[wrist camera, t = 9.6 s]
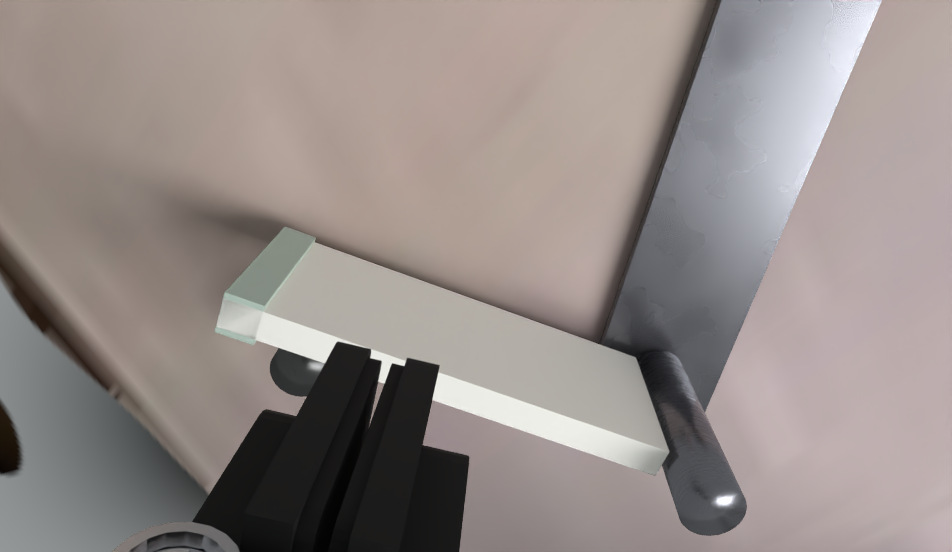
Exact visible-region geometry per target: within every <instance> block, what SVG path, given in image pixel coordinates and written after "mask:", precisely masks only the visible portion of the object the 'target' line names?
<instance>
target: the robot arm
mask: <svg viewBox="0 0 952 552" xmlns="http://www.w3.org/2000/svg"><path fill="white" fill-rule="evenodd" d="M370 357H371V349H369V348H364V347H360V346H356V345H352V344H347V343H343V342H339V341H338V342H336V344H335V346H334V348H333V349H332V351H331V353H330V355H329V357H328V359H327V361H326V362H325V364H324V366H323V368H322V370H321V372H320V374H319V375H318V377H317V379H316V381H315V383H314V385H313V387H312V388H311V390H310V392H309V394H308V396H307V398H306V400H305V401H304V403H303V405H302V407H301V409H300V411H299V413H298V414H297V416H293V415H289V414H284V413H280V412H276V411H271V410H267V409H266V410H264V411H262V413H261V414H260V415H259V417H258V418H257V420H256V421H255V423H254V424H253V426H252V428H251V429H250V431H249V432H248V434H247V436H246V437H245V439H244V440H243V442H242V444H241V445H240V447H239V448H238V450H237V451H236V453H235V455H234V456H233V458H232V459H231V461H230V463H229V464H228V466H227V467H226V469H225V471H224V472H223V474H222V475H221V477H220V478H219V480H218V482H217V483H216V485H215V486H214V488H213V490H212V491H211V493H210V494H209V496H208V498H207V499H206V501H205V502H204V504H203V505H202V507H201V509H200V510H199V512H198V513H197V515H196V517H195V518H194V520H193V521H192V522H171V523H166V524H162V525H157V526H153V527H149V528H147V529H145V530H143V531H141V532H139V533H136V534H134V535H132V536H130V537H129V538H128V539H127V540H126V541H124V542H123V543H122V544H120V545H119V546H118V547H116V548H115V549H114V550H113V551H112V552H459V548H460V539H461V530H462V521H463V512H464V503H465V494H466V485H467V476H468V467H469V456H467V455H463V454H458V453H454V452H450V451H445V450H441V449H437V448H432V447H428V446H424V445H422V444H423V440H424V435H425V431H426V426H427V422H428V417H429V413H430V408H431V403H432V399H433V394H434V390H435V385H436V381H437V376H438V372H439V367H440V365H437V364H433V363H429V362H424V361H420V360H416V359H412V358H407V360H406V363H405V366H402V365H398V364H393V363H392V364H391V367H390V370H389V373H388V376H387V378H386V381H385V384H384V387H383V390H382V393H381V395H380V398H379V401H378V404H377V407H376V409H375V412H374V415H373V418H372V421H371V424H370V419H371V414H372V409H373V404H374V399H375V394H376V389H377V385H378V380H379V375H380V370H381V364H382V361H381V360H376V359H372V358H370ZM369 424H370V426H369ZM368 428H369V429H368Z"/></svg>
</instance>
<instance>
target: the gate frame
mask: <svg viewBox="0 0 952 552" xmlns="http://www.w3.org/2000/svg"><path fill="white" fill-rule="evenodd" d="M881 1H882V0H717V2H716V5H715V8H714V11H713V14H712V17H711V20H710V23H709V26H708V29H707V32H706V35H705V38H704V40H703V43H702V46H701V49H700V52H699V55H698V58H697V61H696V64H695V67H694V70H693V73H692V75H691V78H690V81H689V84H688V87H687V90H686V93H685V96H684V99H683V102H682V105H681V108H680V111H679V113H678V116H677V119H676V122H675V125H674V128H673V131H672V134H671V137H670V140H669V143H668V146H667V148H666V151H665V154H664V157H663V160H662V163H661V166H660V169H659V172H658V175H657V178H656V181H655V183H654V186H653V189H652V192H651V195H650V198H649V201H648V204H647V207H646V210H645V213H644V216H643V219H642V221H641V224H640V227H639V230H638V233H637V236H636V239H635V242H634V245H633V248H632V251H631V254H630V256H629V259H628V262H627V265H626V268H625V271H624V274H623V277H622V280H621V283H620V286H619V289H618V292H617V294H616V297H615V300H614V303H613V306H612V309H611V312H610V315H609V318H608V321H607V324H606V327H605V329H604V332H603V335H602V338H601V341H600V345H603V346H605V347H608V348H611V349H614V350H617V351H619V352H622V353H625V354H628V355H631V356H633V357H636V359H637V362H638V365H639V367H640V370H641V373H642V376H643V379H644V382H645V384H646V387H647V390H648V393H649V396H650V398H651V401H652V404H653V407H654V410H655V413H656V415H657V418H658V421H659V424H660V427H661V430H662V432H663V435H664V438H665V441H666V444H667V446H668V449H669V454H668V455H667V457H666V459H665V460H664V462H663V464H662V467H663V470H664V473H665V476H666V479H667V482H668V485H669V488H670V491H671V494H672V497H673V500H674V503H675V506H676V509H677V512H678V515H679V518H680V521H681V523H682V524H683V525H684V526H685V527H686V528H687V529H688V530H690V531H692V532H694V533H696V534H700V535H707V536H711V535H719V534H723V533H725V532H728V531H730V530H731V529H733V528H735V527H736V526H737V525H738V524H739V523H740V522H741V521H742V519H743V518H744V516H745V513H746V508H747V505H746V500H745V498H744V496H743V493H742V491H741V489H740V487H739V485H738V483H737V481H736V478H735V476H734V474H733V472H732V470H731V468H730V466H729V464H728V461H727V459H726V457H725V455H724V453H723V451H722V449H721V447H720V444H719V442H718V440H717V438H716V436H715V434H714V432H713V430H712V427H711V425H710V423H709V421H708V419H707V417H706V415H705V411H706V408H707V406H708V404H709V401H710V399H711V397H712V394H713V392H714V390H715V387H716V385H717V383H718V380H719V378H720V376H721V373H722V371H723V369H724V366H725V364H726V362H727V359H728V357H729V355H730V352H731V350H732V348H733V345H734V343H735V341H736V339H737V336H738V334H739V332H740V329H741V327H742V325H743V322H744V320H745V318H746V315H747V313H748V311H749V308H750V306H751V304H752V301H753V299H754V297H755V294H756V292H757V290H758V287H759V285H760V283H761V280H762V278H763V276H764V273H765V271H766V269H767V266H768V264H769V262H770V259H771V257H772V255H773V252H774V250H775V248H776V245H777V243H778V241H779V238H780V236H781V234H782V232H783V229H784V227H785V225H786V222H787V220H788V218H789V215H790V213H791V211H792V208H793V206H794V204H795V201H796V199H797V197H798V194H799V192H800V190H801V187H802V185H803V183H804V180H805V178H806V176H807V173H808V171H809V169H810V166H811V164H812V162H813V159H814V157H815V155H816V152H817V150H818V148H819V145H820V143H821V141H822V138H823V136H824V134H825V131H826V129H827V127H828V125H829V122H830V120H831V118H832V115H833V113H834V111H835V108H836V106H837V104H838V101H839V99H840V97H841V94H842V92H843V90H844V87H845V85H846V83H847V80H848V78H849V76H850V73H851V71H852V69H853V66H854V64H855V62H856V59H857V57H858V55H859V52H860V50H861V48H862V45H863V43H864V41H865V38H866V36H867V34H868V31H869V29H870V27H871V24H872V22H873V20H874V18H875V15H876V13H877V11H878V8H879V6H880V4H881ZM324 364H325V363H322V362H319V361H316V360H313V359H310V358H307V357H304V356H301V355H298V354H295V353H293V352H290V351H287V350H284V349H281V348H279V349H278V350H277V352H276V354H275V355H274V357H273V359H272V361H271V364H270V373H271V376H272V379H273V381H274V382H275V384H276V385H277V386H278V387H279V388H280V389H281V390H283V391H284V392H286V393H288V394H291V395H294V396H308V394H309V392H310V390H311V388H312V387H313V385H314V383H315V381H316V379H317V377H318V375H319V374H320V372H321V370H322V368H323V366H324Z"/></svg>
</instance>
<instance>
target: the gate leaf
mask: <svg viewBox="0 0 952 552" xmlns="http://www.w3.org/2000/svg"><path fill="white" fill-rule="evenodd" d="M315 239H316V237H313V236H310V235H308V234H305V233H302V232H299V231H296V230H294V229H291V228H288V227H284V228H283V229H282V230H281V231H280V232H279V234H278V235H277V236H276V237H275V238H274V239H273V240H272V241H271V242H270V243H269V244H268V246H267V247H266V248H265V249H264V250H263V251H262V252H261V253H260V254H259V255H258V257H257V258H256V259H255V260H254V261H253V262H252V263H251V264H250V265H249V266H248V267H247V269H246V270H245V271H244V272H243V273H242V274H241V275H240V276H239V277H238V278H237V279H236V281H235V282H234V283H233V284H232V285H231V286H230V287H229V288H228V289H227V290H226V291H225V293H224V297H223V301H222V305H221V309H220V313H219V317H218V321H217V325H216V329H215V332H216V333H219V334H222V335H225V336H228V337H231V338H234V339H237V340H240V341H243V342H245V343H248V344H251V345H254V344H255V342H256V341H260V342H263V343H266V344H269V345H272V346H275V347H278V348H281V349H284V350H287V351H290V352H293V353H295V354H298V355H301V356H304V357H307V358H310V359H313V360H316V361H319V362H322V363H325V362H326V361H327V359H328V357H329V355H330V353H331V351H332V349H333V348H334V346H335V344H336V342H338V341H339V342H343V343H347V344H352V345H356V346H360V347H364V348H369V349H371V357H370V358H372V359H376V360H381V361H382V364H381V370H380V375H379V380H378V382H381V383H384V384H385V381H386V378H387V376H388V373H389V370H390V367H391V364H392V363H393V364H398V365H402V366H405V363H406V360H407V358H412V359H416V360H420V361H424V362H429V363H433V364H437V365H440V367H439V372H438V376H437V381H436V385H435V390H434V394H433V399H432V400H434V401H437V402H440V403H442V404H445V405H448V406H451V407H454V408H457V409H460V410H463V411H466V412H469V413H472V414H475V415H478V416H481V417H484V418H487V419H489V420H492V421H495V422H498V423H501V424H504V425H507V426H510V427H513V428H516V429H519V430H522V431H525V432H528V433H531V434H534V435H537V436H539V437H542V438H545V439H548V440H551V441H554V442H557V443H560V444H563V445H566V446H569V447H572V448H575V449H578V450H581V451H584V452H586V453H589V454H592V455H595V456H598V457H601V458H604V459H607V460H610V461H613V462H616V463H619V464H622V465H625V466H628V467H631V468H634V469H636V470H639V471H642V472H645V473H648V474H651V475H654V476H655V475H656V474H657V472H658V470H659V469H660V467H661V465H662V464H663V462H664V460H665V459H666V457H667V455H668V454H669V449H668V446H667V444H666V441H665V438H664V435H663V432H662V430H661V427H660V424H659V421H658V418H657V415H656V413H655V410H654V407H653V404H652V401H651V398H650V396H649V393H648V390H647V387H646V384H645V382H644V379H643V376H642V373H641V370H640V367H639V365H638V362H637V359H636V357H633V356H631V355H628V354H625V353H622V352H619V351H617V350H614V349H611V348H608V347H605V346H603V345H600V344H597V343H594V342H591V341H589V340H586V339H583V338H580V337H578V336H575V335H572V334H569V333H566V332H564V331H561V330H558V329H555V328H552V327H550V326H547V325H544V324H541V323H538V322H536V321H533V320H530V319H527V318H525V317H522V316H519V315H516V314H513V313H511V312H508V311H505V310H502V309H499V308H497V307H494V306H491V305H488V304H486V303H483V302H480V301H477V300H474V299H472V298H469V297H466V296H463V295H460V294H458V293H455V292H452V291H449V290H446V289H444V288H441V287H438V286H435V285H433V284H430V283H427V282H424V281H421V280H419V279H416V278H413V277H410V276H407V275H405V274H402V273H399V272H396V271H393V270H391V269H388V268H385V267H382V266H380V265H377V264H374V263H371V262H368V261H366V260H363V259H360V258H357V257H354V256H352V255H349V254H346V253H343V252H341V251H338V250H335V249H332V248H329V247H327V246H324V245H321V244H318V243H315Z"/></svg>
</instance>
